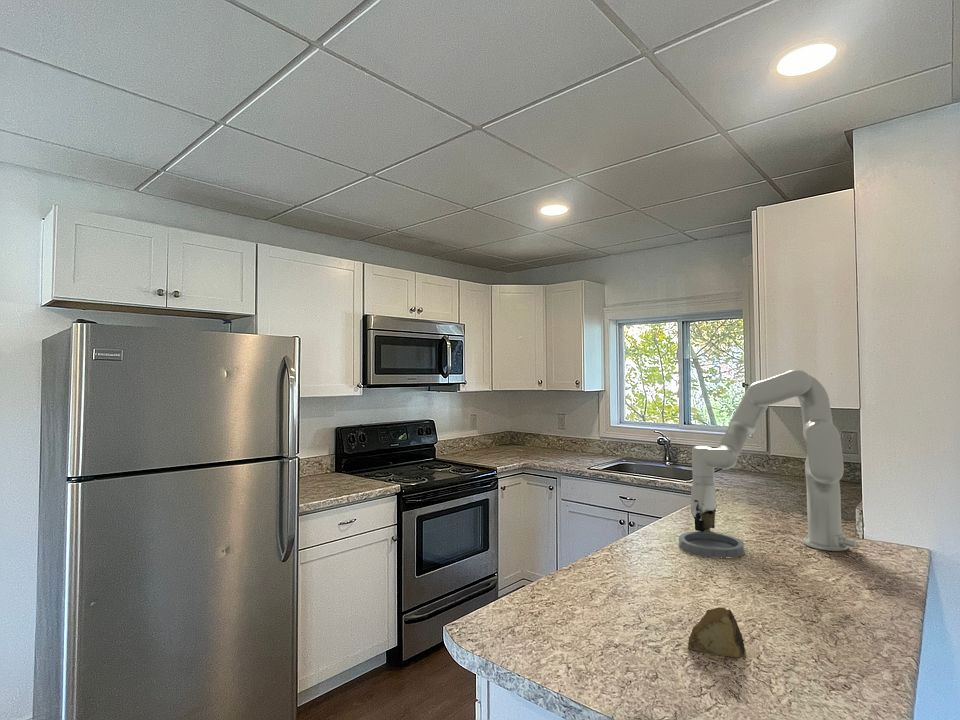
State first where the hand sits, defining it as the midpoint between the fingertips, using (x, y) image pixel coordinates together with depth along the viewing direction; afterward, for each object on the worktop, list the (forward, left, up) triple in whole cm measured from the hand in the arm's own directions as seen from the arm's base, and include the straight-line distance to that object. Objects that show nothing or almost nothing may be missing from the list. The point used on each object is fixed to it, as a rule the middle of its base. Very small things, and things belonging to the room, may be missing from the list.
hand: (704, 528), depth 192 cm
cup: (0, 0, -2) cm, 2 cm away
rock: (-47, +76, -2) cm, 89 cm away
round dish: (-11, +15, -1) cm, 19 cm away
